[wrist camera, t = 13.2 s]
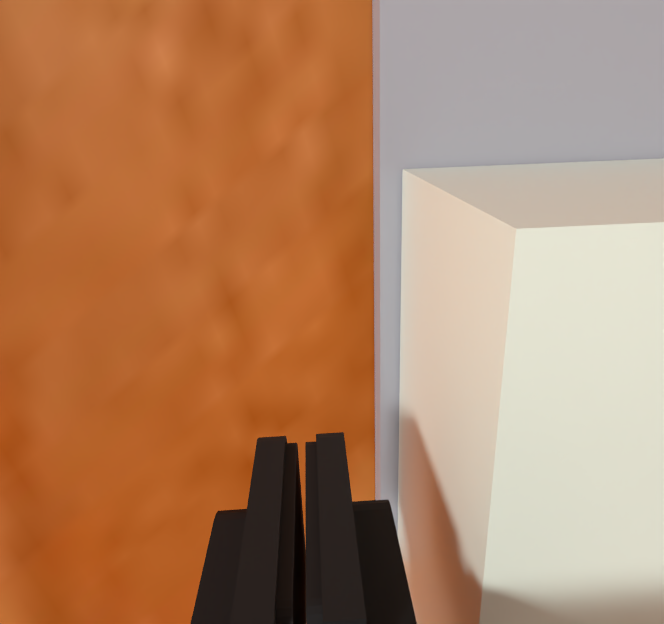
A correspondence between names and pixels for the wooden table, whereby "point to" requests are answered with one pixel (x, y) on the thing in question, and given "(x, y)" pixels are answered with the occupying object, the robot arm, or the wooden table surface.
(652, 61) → the base board
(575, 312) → the housing cover
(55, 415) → the wooden table surface
